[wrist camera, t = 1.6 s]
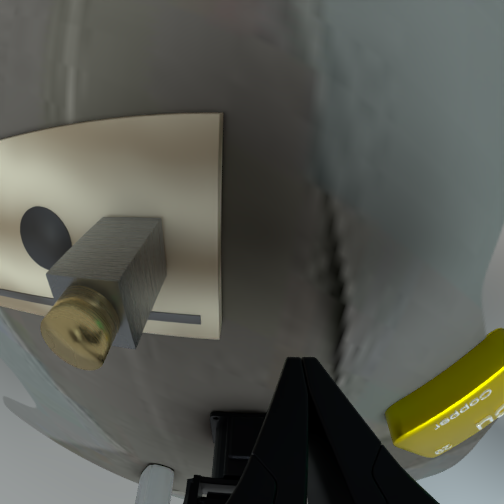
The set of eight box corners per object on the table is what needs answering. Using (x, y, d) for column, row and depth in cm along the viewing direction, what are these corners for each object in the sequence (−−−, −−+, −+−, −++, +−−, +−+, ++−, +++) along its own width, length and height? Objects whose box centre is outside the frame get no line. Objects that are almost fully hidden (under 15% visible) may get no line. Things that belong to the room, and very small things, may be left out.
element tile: (502, 318, 19) (527, 353, 15) (513, 371, 24) (528, 397, 20) (376, 409, 24) (387, 449, 20) (423, 434, 29) (431, 462, 25)
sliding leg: (166, 274, 14) (123, 383, 8) (112, 271, 14) (53, 366, 8) (161, 217, 13) (97, 315, 7) (103, 216, 13) (21, 301, 7)
